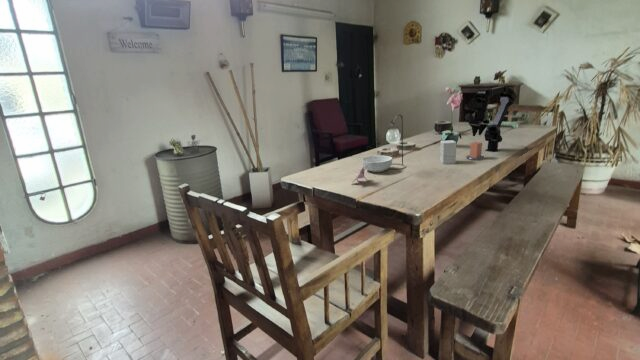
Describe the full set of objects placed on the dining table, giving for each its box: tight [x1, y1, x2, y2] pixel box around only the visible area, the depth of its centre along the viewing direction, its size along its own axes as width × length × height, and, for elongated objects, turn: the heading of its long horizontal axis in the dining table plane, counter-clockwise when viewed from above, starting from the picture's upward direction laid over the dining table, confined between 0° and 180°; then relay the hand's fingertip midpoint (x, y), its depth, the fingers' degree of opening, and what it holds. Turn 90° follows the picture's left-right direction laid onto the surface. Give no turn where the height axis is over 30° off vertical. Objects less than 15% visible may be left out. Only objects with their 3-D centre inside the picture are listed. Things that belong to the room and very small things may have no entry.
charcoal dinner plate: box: [465, 154, 485, 161], centre depth 204 cm, size 10×10×1 cm
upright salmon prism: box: [469, 141, 483, 158], centre depth 203 cm, size 4×4×8 cm
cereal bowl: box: [361, 154, 393, 173], centre depth 191 cm, size 17×17×7 cm
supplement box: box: [439, 139, 457, 165], centre depth 198 cm, size 7×7×13 cm
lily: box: [352, 165, 370, 184], centre depth 171 cm, size 12×12×10 cm
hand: (476, 135), depth 210 cm, fingers open, 9 cm apart
